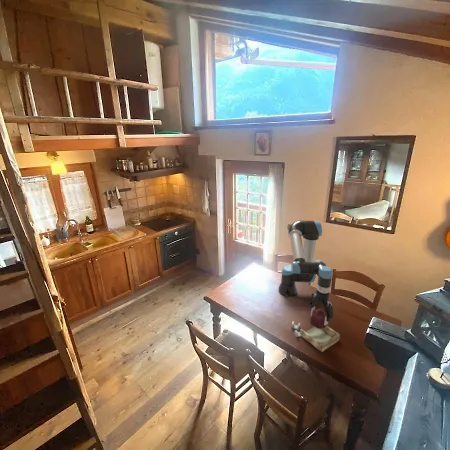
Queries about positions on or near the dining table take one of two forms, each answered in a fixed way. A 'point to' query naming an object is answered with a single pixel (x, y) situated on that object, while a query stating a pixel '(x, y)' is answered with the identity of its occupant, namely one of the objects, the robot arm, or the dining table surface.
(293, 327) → the clip
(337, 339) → the tray
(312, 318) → the vegetable
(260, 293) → the dining table surface
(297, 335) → the clip
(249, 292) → the dining table surface
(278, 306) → the dining table surface
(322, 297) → the robot arm
